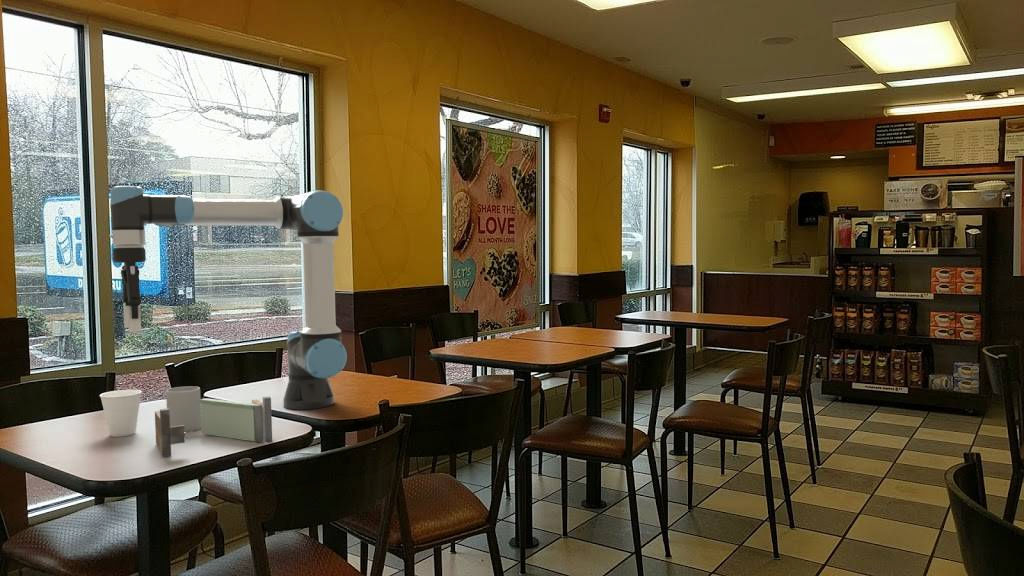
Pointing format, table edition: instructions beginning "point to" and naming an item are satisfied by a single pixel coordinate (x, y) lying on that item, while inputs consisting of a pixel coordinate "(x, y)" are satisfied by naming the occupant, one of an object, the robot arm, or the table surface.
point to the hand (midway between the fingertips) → (132, 329)
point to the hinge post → (266, 417)
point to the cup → (121, 411)
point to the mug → (184, 407)
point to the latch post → (167, 432)
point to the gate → (232, 419)
